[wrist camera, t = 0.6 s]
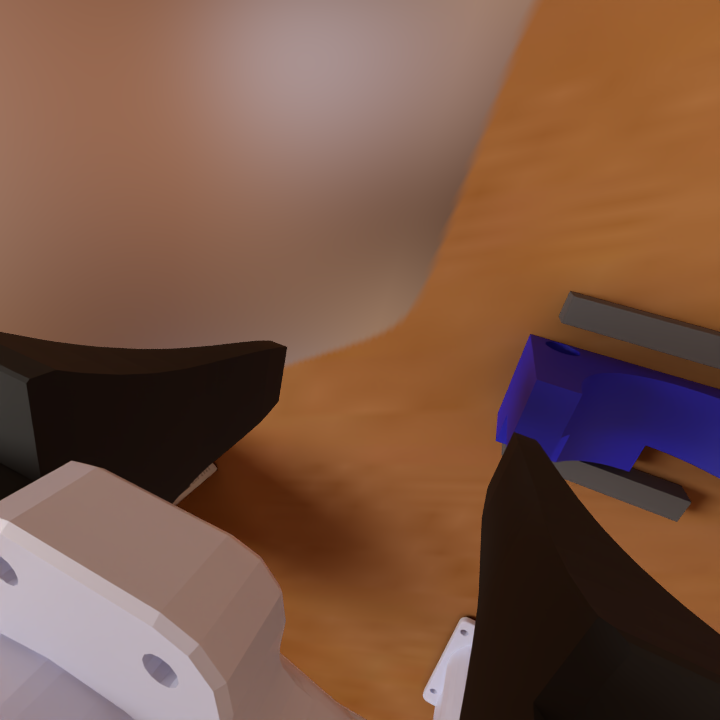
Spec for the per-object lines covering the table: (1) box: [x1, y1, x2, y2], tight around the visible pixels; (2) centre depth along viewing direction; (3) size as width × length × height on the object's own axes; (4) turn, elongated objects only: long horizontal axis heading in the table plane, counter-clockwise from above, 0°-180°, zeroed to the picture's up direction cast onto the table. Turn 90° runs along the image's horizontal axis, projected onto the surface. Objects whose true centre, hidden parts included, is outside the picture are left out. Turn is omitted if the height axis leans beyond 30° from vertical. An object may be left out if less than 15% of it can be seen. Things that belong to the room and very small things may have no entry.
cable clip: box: [496, 334, 720, 478], centre depth 16 cm, size 12×4×6 cm, turn 77°
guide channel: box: [502, 291, 720, 522], centre depth 18 cm, size 8×8×1 cm
